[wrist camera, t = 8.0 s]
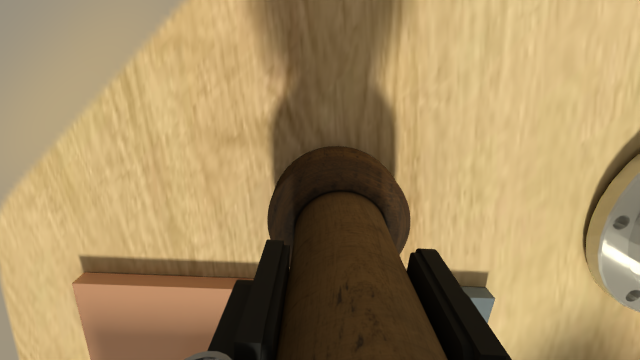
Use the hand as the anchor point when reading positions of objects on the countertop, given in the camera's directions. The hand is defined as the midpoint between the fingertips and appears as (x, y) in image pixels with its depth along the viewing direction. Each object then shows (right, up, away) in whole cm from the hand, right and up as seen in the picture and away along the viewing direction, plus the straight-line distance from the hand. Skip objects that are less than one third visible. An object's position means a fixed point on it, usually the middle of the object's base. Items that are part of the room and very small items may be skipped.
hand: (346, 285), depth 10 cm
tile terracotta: (-10, -7, +10) cm, 16 cm away
